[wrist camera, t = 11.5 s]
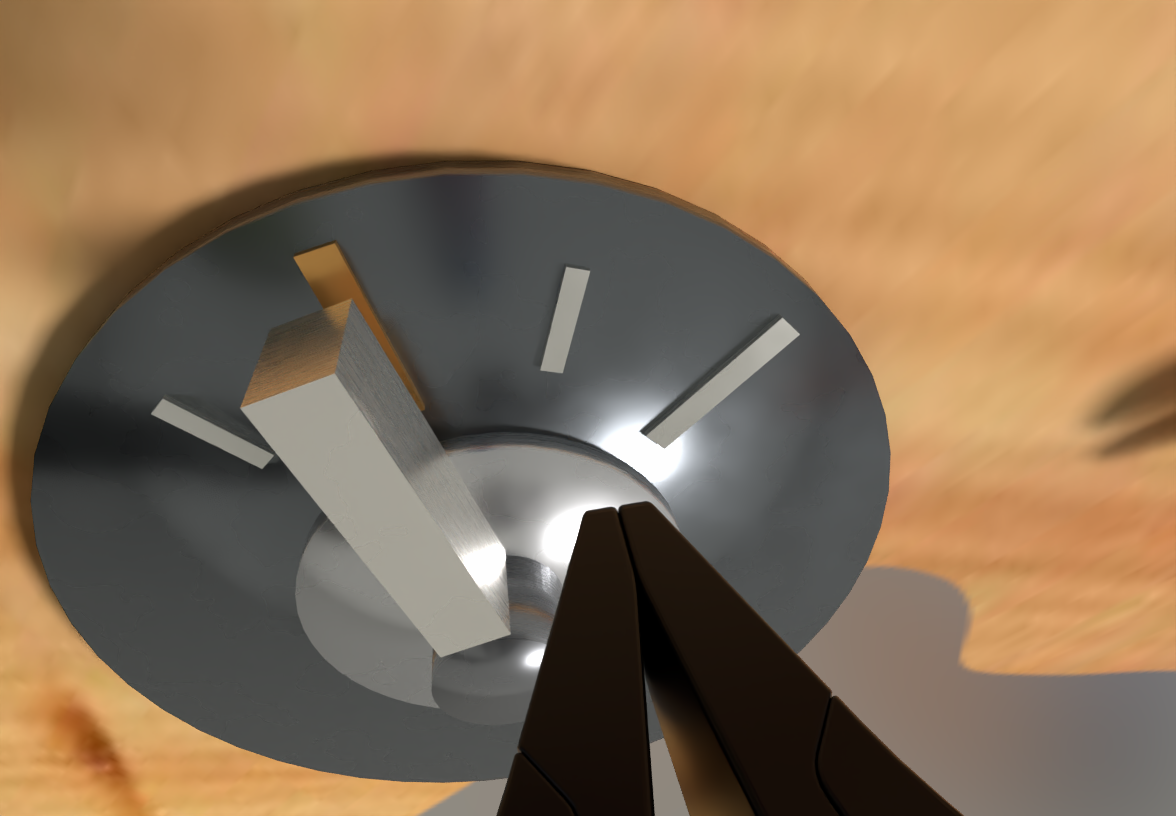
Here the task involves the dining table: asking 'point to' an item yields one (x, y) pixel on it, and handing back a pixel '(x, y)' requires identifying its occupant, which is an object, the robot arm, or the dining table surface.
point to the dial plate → (444, 430)
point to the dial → (423, 524)
